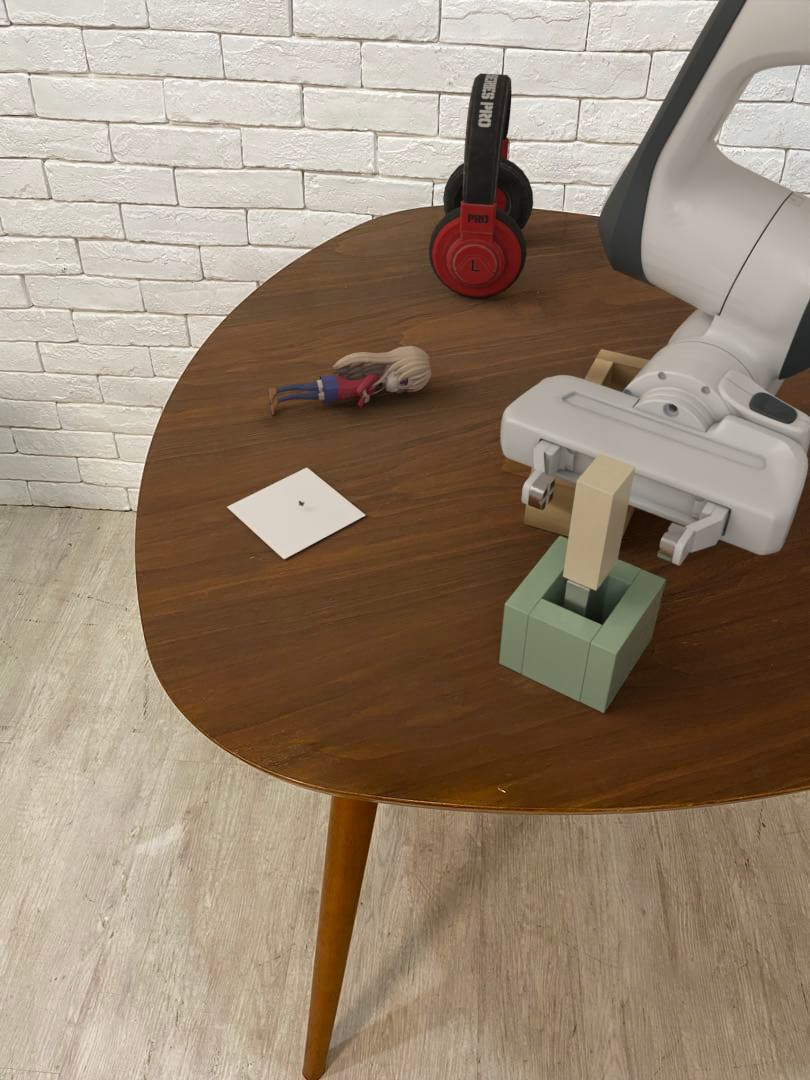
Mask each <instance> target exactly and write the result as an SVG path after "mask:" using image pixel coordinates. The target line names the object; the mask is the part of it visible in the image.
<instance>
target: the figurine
mask: <svg viewBox="0 0 810 1080" xmlns="http://www.w3.org/2000/svg"><path fill="white" fill-rule="evenodd" d="M430 359H431V358H430V357H429V355H428V353H427V352H426V351H425V350H424V349H422V348H420V347H418V346H415V345H407V346H406V345H405V346H404V345H403V346H399V347H397V348H394V349H392V350H389V351H385V352H377V353H375V352H368V351H362V352H361V351H359V352H353V353H350V354H347V355H345V356H343V357H342V358H340V359H339V360H337V361H336V362H335V363H334V364H333V366H332V367H331V369H332V370H331V371H334V372H333V373H332V375H320V376H319V379H317V380H314V381H311V382H308V383H307V382H306V383H292V384H289V385H283V386H280V387H269V388H267V391H266V392H267V396H268V404H269V406H270V414H271V416H274V415H275V412H276V410H277V407H278V405H279V404H280V403H283V402H287V401H293V400H305V401H307V400H308V401H309V400H310V401H313V400H314V401H322V402H323V405H327V404H331V403H333V402H336V401H343V400H347V399H351V398H355V397H360V398H359V400H358V401H357V406H358V407H359V408H362V407H364V406H365V405H366V404H367V403H368V402H369V401H370V400H371V397H372V396H373V395H375V394H378V393H379V392H382V391H383V390H384V389H385V392H388V393H396V394H401V393H406V392H407V393H411V392H414V393H415V392H417V391H420V390H421V389H423V388H424V387H425V386H426V385H427V384H428V382H429V380H430V379H431V377H432V368H431V360H430ZM379 388H380V389H379ZM292 391H293V392H294V391H301V392H295V393H290V394H286V395H283V396H279V397H277V395H278V394H280V393H284V392H292ZM303 391H304V392H303Z"/></svg>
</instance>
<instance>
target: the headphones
mask: <svg viewBox="0 0 810 1080" xmlns="http://www.w3.org/2000/svg"><path fill="white" fill-rule="evenodd" d="M472 82H473V83H472V86H471V91H470V95H469V102H468V109H467V116H466V124H465V125H466V126H465V139H464V152H463V162H462V163H461V164H459V165H458V166H457V167H456V168H455V170H454V171H453V172H452V173H451V174H450V175H449V177H448V180H447V182H446V184H445V186H444V190H443V196H442V201H443V211H444V214H445V215H444V216H443V217H442V218H441V219H440V221H438V223H437V224H436V225H435V228H434V230H433V231H432V234H431V235H430V240H429V244H428V254H429V255H428V256H429V263H430V265H431V268H432V271H433V273H434V275H435V276H436V277H437V279H438V280H439V281H440V283H441V284H442V285H443V286H445V287H446V288H447V289H449V290H450V291H451V292H454V293H455V294H458V295H460V296H462V297H466V298H472V299H484V298H486V299H487V298H490V297H494V296H497V295H500V294H502V293H503V292H505V291H507V290H508V289H510V288H511V286H512V285H514V284H515V283H516V282H517V280H518V279H519V277H520V275H521V274H522V272H523V270H524V268H525V264H526V259H527V243H526V239H525V236H524V234H523V229H524V228H525V226H526V225H527V223H528V222H529V219H530V218H531V216H532V212H533V208H534V192H533V188H532V185H531V183H530V180H529V178H528V176H527V174H526V173H525V172H524V170H523V169H522V168H520V167H519V166H518V165H517V164H516V163H514V161H511V160H509V159H508V155H509V143H510V142H509V141H510V139H509V137H508V134H509V130H510V129H509V128H510V120H511V111H512V110H511V109H512V93H513V91H512V90H513V89H512V78H511V77H510V76H509V75H508V74H499V73H481V72H480V73H479V74H478V75H477V76H474V79H473V81H472Z"/></svg>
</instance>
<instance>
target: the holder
mask: <svg viewBox="0 0 810 1080" xmlns="http://www.w3.org/2000/svg"><path fill="white" fill-rule="evenodd" d="M567 544H568V537H566V536H563V535H559V536H558V537H557V538H556V540H555V541H554V542H553V543H552V544H551V545H550V547H549V548H548V549H547V551H546V552H545V553H544V554H543V556H542V557H541V558H540V559H539V561H538V562H537V563H536V564H535V565H534V566H533V568H532V569H531V570H530V572H529V573H528V574H527V575H526V576H525V578H524V579H523V581H522V582H520V584H519V585H518V587H517V588H516V589H515V590H514V592H513V593H512V594H511V595H510V596H509V597H508V599H507V600H506V601H505V603H504V608H503V617H502V628H501V639H500V649H499V660H498V664H499V665H501V666H503V667H506V668H507V669H510V670H511V671H514V672H516V673H518V674H520V675H521V676H524V677H526V678H528V679H530V680H532V681H534V682H537V683H539V684H540V685H543V686H544V687H547V688H550V689H551V690H553V691H555V692H558V693H559V694H562V695H564V696H565V697H568V698H570V699H572V700H575V701H576V702H577V703H578V702H579V703H581V704H583V705H585V706H586V707H587V706H588V707H589V708H591V709H593V710H595V711H598V712H600V713H601V714H604V713H606V711H607V710H608V708H609V706H610V705H611V703H612V702H613V700H614V698H616V695H617V694H618V692H619V691H620V690H621V688H622V686H623V684H624V683H625V681H626V680H627V678H628V677H629V675H630V674H631V672H632V670H633V669H634V668H635V666H636V664H637V663H638V661H639V660H640V658H641V656H642V655H643V654H644V652H645V650H646V649H647V648H648V645H649V644H650V643H651V641H652V639H653V636H654V631H655V626H656V623H657V618H658V614H659V611H660V606H661V602H662V598H663V594H664V590H665V585H666V581H667V579H666V578H664V577H662V576H660V575H657V574H654V573H652V572H649V571H648V570H644V569H642V568H641V567H638V566H636V565H634V564H631V563H629V562H626V561H623V560H621V559H619V558H618V560H617V563H616V564H615V566H614V567H613V568H612V570H611V571H610V575H609V580H608V586H607V591H606V596H605V602H604V607H603V612H602V618H601V623H600V624H599V623H596V622H594V621H592V620H590V619H587V618H585V617H583V616H581V615H578V614H576V613H574V612H571V611H569V610H567V609H565V608H563V605H564V598H565V591H566V585H567V581H568V579H567V578H565V577H563V572H564V565H565V558H566V551H567Z"/></svg>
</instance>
